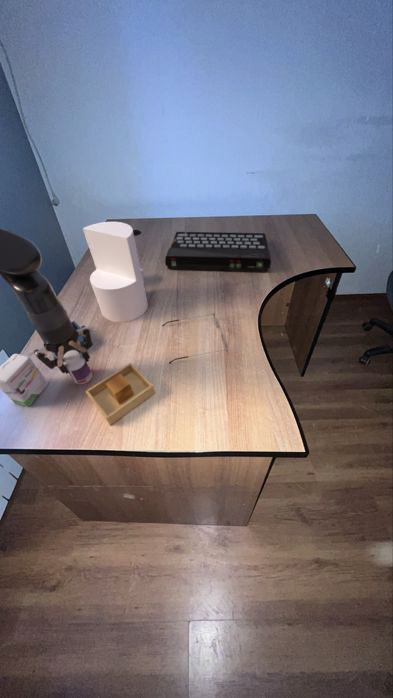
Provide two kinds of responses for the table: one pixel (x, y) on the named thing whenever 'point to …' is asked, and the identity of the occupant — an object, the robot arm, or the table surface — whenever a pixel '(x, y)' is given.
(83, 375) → the pill bottle
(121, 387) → the ochre block
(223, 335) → the eyeglasses
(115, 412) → the sand bin
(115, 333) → the table surface
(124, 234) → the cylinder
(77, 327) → the slate bin
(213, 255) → the computer keyboard
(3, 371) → the ink box
